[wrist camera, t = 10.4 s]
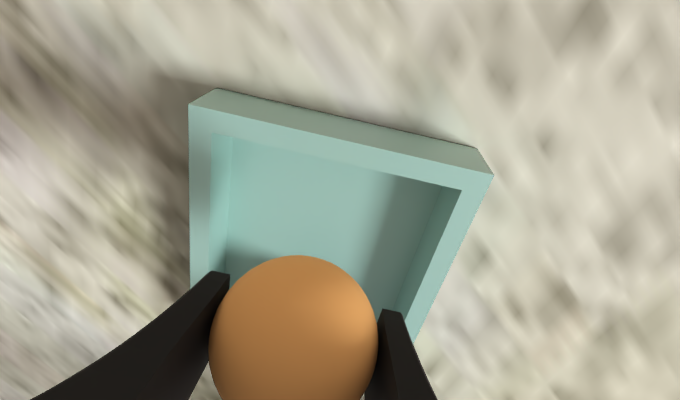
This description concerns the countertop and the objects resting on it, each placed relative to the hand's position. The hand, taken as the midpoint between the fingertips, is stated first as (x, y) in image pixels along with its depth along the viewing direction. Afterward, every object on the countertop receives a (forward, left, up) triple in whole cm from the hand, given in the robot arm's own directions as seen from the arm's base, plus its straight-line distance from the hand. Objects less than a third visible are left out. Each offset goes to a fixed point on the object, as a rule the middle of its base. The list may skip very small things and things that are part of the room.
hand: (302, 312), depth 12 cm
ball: (0, 0, +1) cm, 1 cm away
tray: (-4, 0, -9) cm, 10 cm away
